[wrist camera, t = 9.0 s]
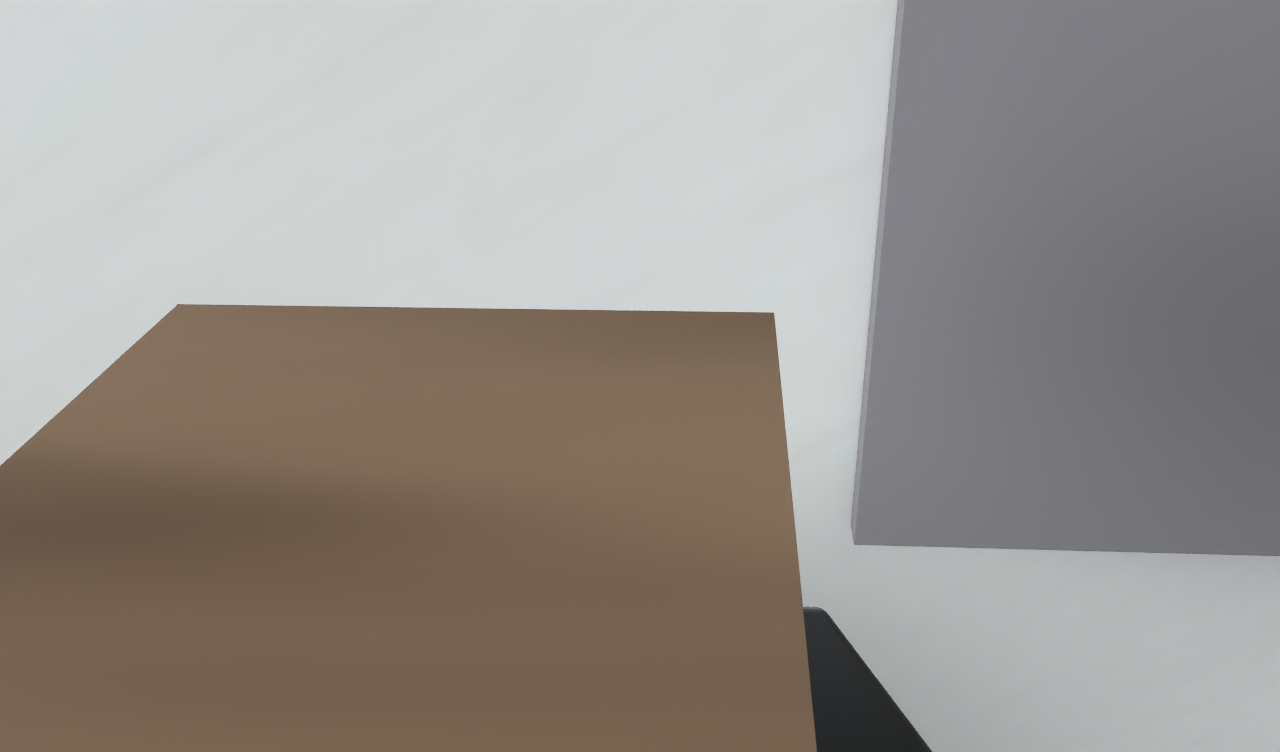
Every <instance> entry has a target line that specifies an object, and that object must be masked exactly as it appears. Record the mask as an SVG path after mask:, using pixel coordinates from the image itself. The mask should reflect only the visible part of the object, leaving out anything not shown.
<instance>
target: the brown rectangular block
mask: <svg viewBox="0 0 1280 752" xmlns="http://www.w3.org/2000/svg"><path fill="white" fill-rule="evenodd" d="M0 752H817V747H816V737H815V727H814V717H813V707H812V696H811V686H810V676H809V666H808V656H807V645H806V635H805V625H804V615H803V604H802V594H801V584H800V574H799V564H798V553H797V543H796V533H795V523H794V513H793V502H792V492H791V482H790V472H789V462H788V451H787V441H786V431H785V421H784V410H783V400H782V390H781V380H780V370H779V359H778V349H777V339H776V329H775V319H774V313H758V312H686V311H614V310H542V309H471V308H399V307H328V306H256V305H184V304H178V305H177V306H176V307H175V308H174V309H172V310H171V311H170V312H169V313H168V314H167V315H166V316H165V317H164V318H163V319H161V320H160V321H159V322H158V323H157V324H156V325H155V326H154V327H153V328H152V329H150V330H149V331H148V332H147V333H146V334H145V335H144V336H143V337H142V338H141V339H139V340H138V341H137V342H136V343H135V344H134V345H133V346H132V347H131V348H130V349H128V350H127V351H126V352H125V353H124V354H123V355H122V356H121V357H120V358H119V359H117V360H116V361H115V362H114V363H113V364H112V365H111V366H110V367H109V368H108V369H106V370H105V371H104V372H103V373H102V374H101V375H100V376H99V377H98V378H97V379H95V380H94V381H93V382H92V383H91V384H90V385H89V386H88V387H87V388H86V389H84V390H83V391H82V392H81V393H80V394H79V395H78V396H77V397H76V398H75V399H73V400H72V401H71V402H70V403H69V404H68V405H67V406H66V407H65V408H64V409H62V410H61V411H60V412H59V413H58V414H57V415H56V416H55V417H54V418H53V419H51V420H50V421H49V422H48V423H47V424H46V425H45V426H44V427H43V428H42V429H40V430H39V431H38V432H37V433H36V434H35V435H34V436H33V437H32V438H31V439H30V440H28V441H27V442H26V443H25V444H24V445H23V446H22V447H21V448H20V449H19V450H17V451H16V452H15V453H14V454H13V455H12V456H11V457H10V458H9V459H8V460H6V461H5V462H4V463H3V464H2V465H1V466H0Z"/></svg>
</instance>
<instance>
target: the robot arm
mask: <svg viewBox="0 0 1280 752" xmlns="http://www.w3.org/2000/svg"><path fill="white" fill-rule="evenodd" d="M803 615H804V625H805V635H806V645H807V656H808V666H809V676H810V686H811V696H812V707H813V717H814V727H815V737H816V747H817V752H932V751H931V749H930V748H929V747H928V746H927V744H926V743H925V742H924V740H923V739H922V738H921V736H920V735H919V734H918V732H917V731H916V730H915V728H914V727H913V726H912V724H911V723H910V722H909V720H908V719H907V718H906V716H905V715H904V714H903V713H902V711H901V710H900V709H899V707H898V706H897V705H896V703H895V702H894V701H893V699H892V698H891V697H890V695H889V694H888V693H887V691H886V690H885V689H884V687H883V686H882V685H881V683H880V682H879V681H878V680H877V678H876V677H875V676H874V674H873V673H872V672H871V670H870V669H869V668H868V666H867V665H866V664H865V662H864V661H863V660H862V658H861V657H860V656H859V654H858V653H857V652H856V650H855V649H854V648H853V647H852V645H851V644H850V643H849V641H848V640H847V639H846V637H845V636H844V635H843V633H842V632H841V631H840V629H839V628H838V627H837V625H836V624H835V623H834V621H833V620H832V619H831V617H830V616H829V615H828V614H827V613H826V612H825V611H824V610H822V609H821V608H817V607H803Z"/></svg>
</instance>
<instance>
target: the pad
mask: <svg viewBox="0 0 1280 752" xmlns="http://www.w3.org/2000/svg"><path fill="white" fill-rule="evenodd" d="M851 529H852V534H853V540H854V545H889V546H926V547H963V548H1000V549H1038V550H1075V551H1112V552H1149V553H1186V554H1223V555H1260V556H1280V0H898V6H897V17H896V28H895V39H894V50H893V62H892V73H891V84H890V95H889V106H888V117H887V129H886V140H885V151H884V162H883V173H882V184H881V196H880V207H879V218H878V229H877V240H876V251H875V262H874V274H873V285H872V296H871V307H870V318H869V329H868V341H867V352H866V363H865V374H864V385H863V396H862V408H861V419H860V430H859V441H858V452H857V463H856V475H855V486H854V497H853V508H852V519H851Z"/></svg>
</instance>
